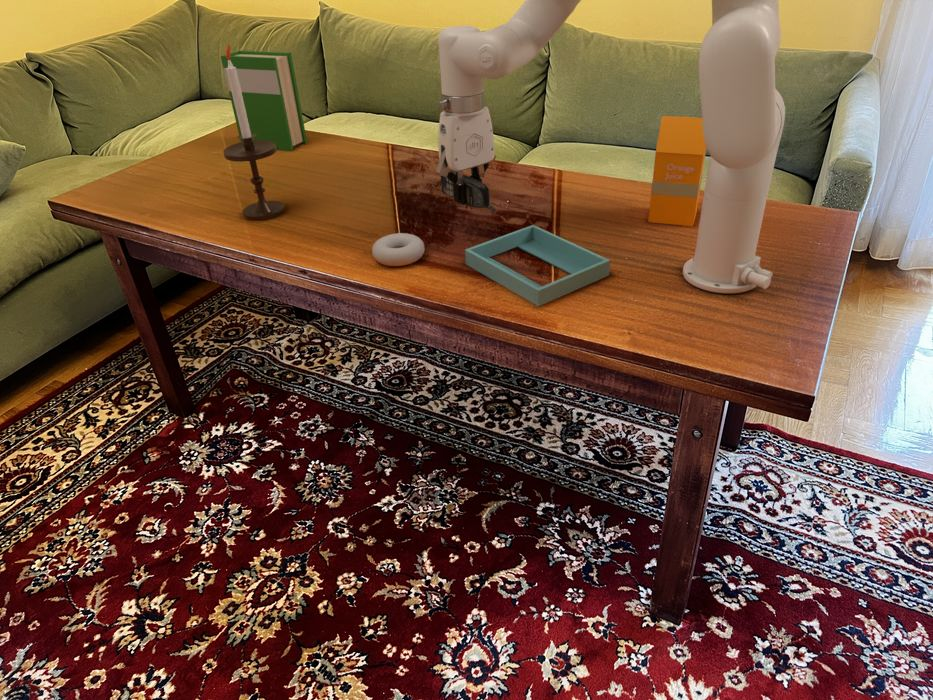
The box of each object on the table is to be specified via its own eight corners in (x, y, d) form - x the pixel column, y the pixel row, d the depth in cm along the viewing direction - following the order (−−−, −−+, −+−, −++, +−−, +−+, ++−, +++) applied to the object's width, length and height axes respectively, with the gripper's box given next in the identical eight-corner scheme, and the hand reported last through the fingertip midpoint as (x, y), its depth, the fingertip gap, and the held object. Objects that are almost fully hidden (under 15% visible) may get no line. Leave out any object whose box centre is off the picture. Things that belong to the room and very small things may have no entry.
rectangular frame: (609, 275, 119) (610, 260, 117) (538, 306, 111) (538, 290, 110) (533, 238, 133) (533, 224, 131) (465, 264, 125) (464, 249, 124)
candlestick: (298, 206, 153) (265, 38, 134) (268, 224, 145) (227, 49, 126) (260, 200, 157) (222, 37, 138) (229, 218, 149) (184, 47, 130)
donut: (369, 251, 132) (378, 273, 124) (366, 235, 130) (375, 255, 122) (419, 243, 134) (431, 263, 126) (417, 227, 132) (429, 246, 124)
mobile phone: (437, 170, 133) (485, 188, 123) (449, 167, 135) (498, 184, 125) (439, 195, 136) (486, 214, 126) (451, 191, 138) (499, 210, 127)
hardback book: (307, 142, 193) (290, 52, 180) (291, 150, 188) (273, 58, 174) (258, 137, 200) (238, 50, 186) (241, 145, 194) (220, 56, 181)
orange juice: (653, 207, 142) (664, 110, 131) (697, 211, 140) (712, 112, 128) (647, 222, 137) (658, 121, 125) (693, 226, 134) (708, 124, 122)
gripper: (437, 115, 115) (444, 217, 125) (512, 97, 123) (513, 194, 133) (413, 107, 120) (422, 205, 130) (486, 90, 128) (489, 184, 138)
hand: (468, 199), depth 131 cm, fingers closed on mobile phone, 3 cm apart
